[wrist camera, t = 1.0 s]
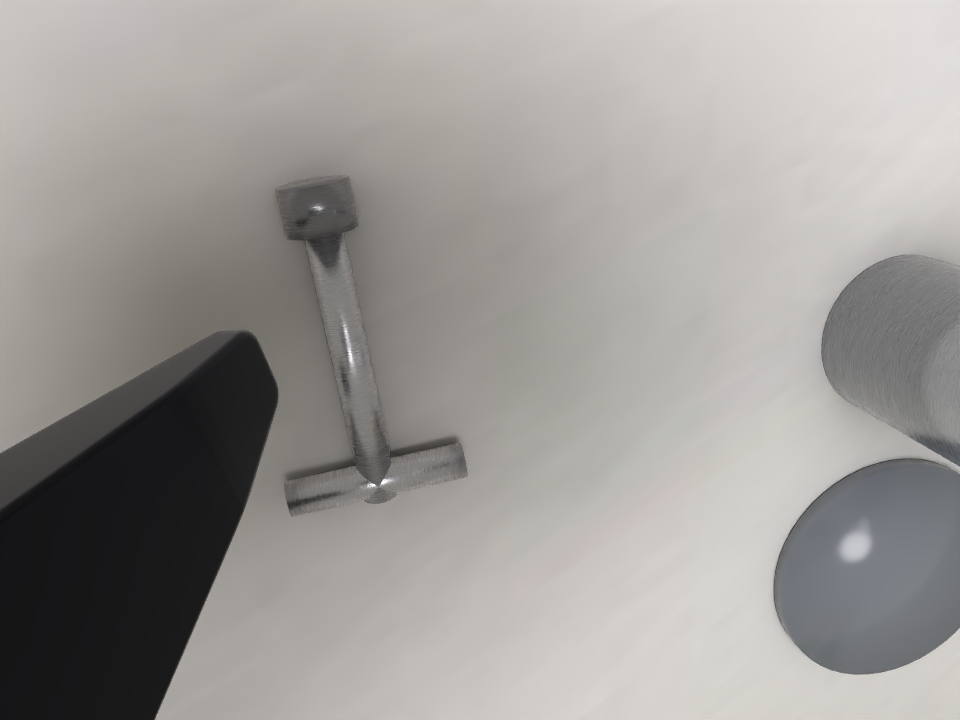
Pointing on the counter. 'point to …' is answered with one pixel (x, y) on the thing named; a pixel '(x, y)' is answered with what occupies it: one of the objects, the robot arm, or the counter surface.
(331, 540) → the counter surface
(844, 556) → the coaster
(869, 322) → the grey cylindrical piece
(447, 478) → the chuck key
